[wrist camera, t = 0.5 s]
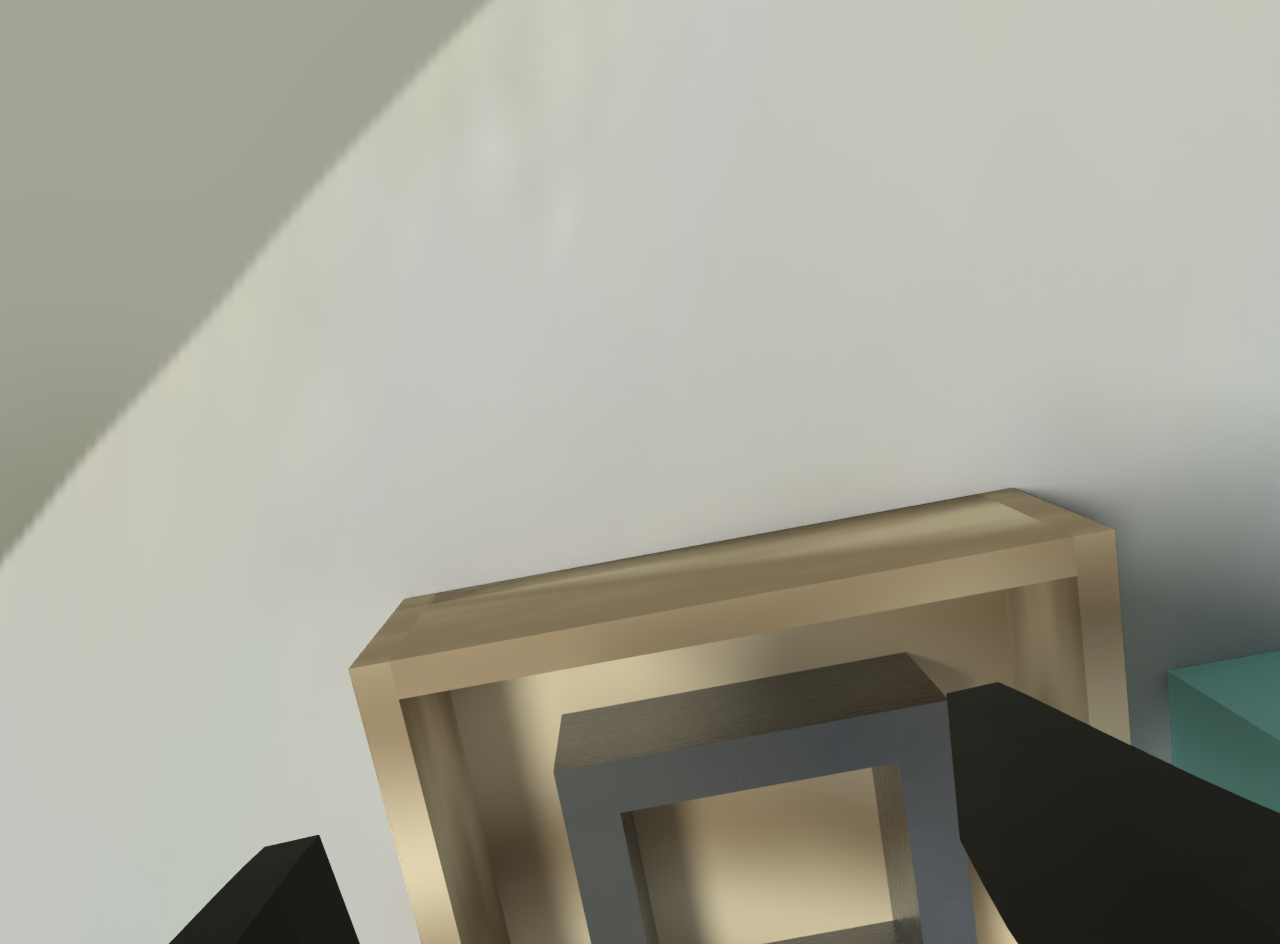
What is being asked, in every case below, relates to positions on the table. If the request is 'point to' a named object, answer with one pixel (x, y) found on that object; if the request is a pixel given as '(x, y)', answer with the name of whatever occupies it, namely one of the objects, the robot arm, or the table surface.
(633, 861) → the frame
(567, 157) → the table surface
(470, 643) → the oak box
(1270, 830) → the robot arm
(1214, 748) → the teal peg
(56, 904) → the table surface
